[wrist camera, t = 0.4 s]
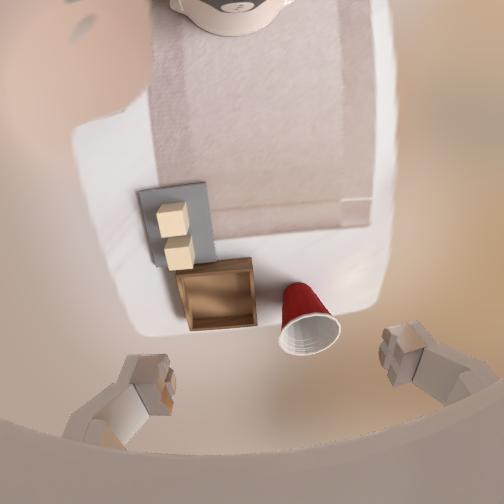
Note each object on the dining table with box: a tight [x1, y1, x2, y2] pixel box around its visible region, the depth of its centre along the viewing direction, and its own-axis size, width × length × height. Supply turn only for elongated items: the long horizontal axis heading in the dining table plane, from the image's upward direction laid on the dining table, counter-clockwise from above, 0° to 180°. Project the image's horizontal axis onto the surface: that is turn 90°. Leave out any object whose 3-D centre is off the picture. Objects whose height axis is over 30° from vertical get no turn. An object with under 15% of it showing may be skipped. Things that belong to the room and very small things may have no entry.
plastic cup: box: [279, 283, 341, 356], centre depth 52 cm, size 11×11×12 cm
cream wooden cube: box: [156, 201, 190, 238], centre depth 44 cm, size 4×4×4 cm
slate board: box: [139, 182, 217, 267], centre depth 48 cm, size 14×11×1 cm
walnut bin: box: [175, 258, 257, 331], centre depth 54 cm, size 13×13×4 cm
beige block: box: [164, 235, 195, 271], centre depth 47 cm, size 4×4×4 cm
